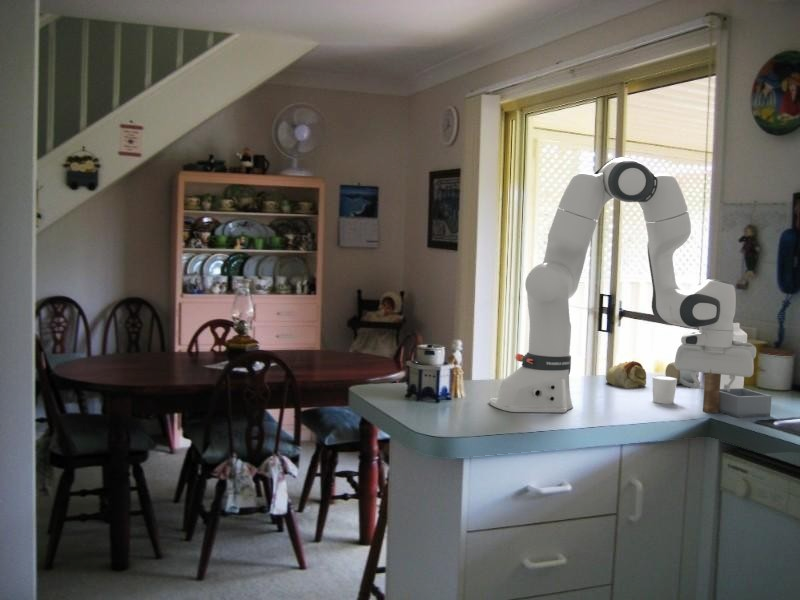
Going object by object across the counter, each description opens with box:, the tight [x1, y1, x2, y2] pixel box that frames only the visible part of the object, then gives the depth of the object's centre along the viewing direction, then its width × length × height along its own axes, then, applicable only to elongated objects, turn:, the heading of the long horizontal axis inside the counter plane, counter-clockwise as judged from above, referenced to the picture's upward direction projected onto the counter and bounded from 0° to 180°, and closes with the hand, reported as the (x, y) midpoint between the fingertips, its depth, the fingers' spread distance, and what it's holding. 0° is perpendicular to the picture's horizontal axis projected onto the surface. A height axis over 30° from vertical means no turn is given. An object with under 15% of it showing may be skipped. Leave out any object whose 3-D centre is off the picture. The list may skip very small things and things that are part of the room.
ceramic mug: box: [664, 361, 700, 388], centre depth 274 cm, size 11×8×8 cm
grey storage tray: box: [718, 387, 773, 418], centre depth 233 cm, size 11×11×6 cm
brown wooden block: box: [702, 369, 721, 413], centre depth 232 cm, size 4×2×12 cm, turn 109°
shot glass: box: [651, 375, 678, 405], centre depth 244 cm, size 7×7×7 cm
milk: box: [720, 322, 748, 389], centre depth 258 cm, size 6×6×22 cm
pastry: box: [605, 360, 647, 389], centre depth 270 cm, size 14×12×8 cm
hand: (711, 389), depth 232 cm, fingers open, 6 cm apart
